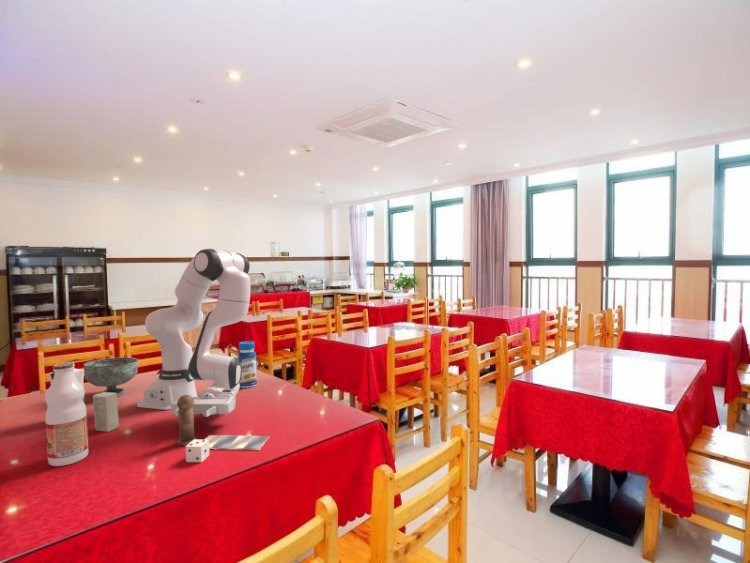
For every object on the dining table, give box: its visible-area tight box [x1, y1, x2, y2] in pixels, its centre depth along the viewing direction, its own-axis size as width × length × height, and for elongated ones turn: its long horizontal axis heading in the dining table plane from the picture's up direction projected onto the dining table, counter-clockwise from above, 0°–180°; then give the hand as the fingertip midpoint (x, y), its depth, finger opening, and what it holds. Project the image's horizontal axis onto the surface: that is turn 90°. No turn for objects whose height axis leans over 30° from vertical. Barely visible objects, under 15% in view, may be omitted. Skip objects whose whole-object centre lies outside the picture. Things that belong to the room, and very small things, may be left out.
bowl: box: [83, 356, 140, 397], centre depth 174 cm, size 20×19×15 cm
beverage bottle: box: [237, 340, 258, 389], centre depth 183 cm, size 8×8×20 cm
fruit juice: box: [44, 361, 90, 467], centre depth 116 cm, size 9×9×28 cm
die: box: [185, 438, 210, 463], centre depth 115 cm, size 5×5×5 cm
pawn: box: [177, 395, 197, 447], centre depth 125 cm, size 5×5×15 cm
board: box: [203, 434, 270, 451], centre depth 124 cm, size 20×9×1 cm, turn 85°
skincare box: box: [92, 391, 120, 432], centre depth 137 cm, size 6×4×12 cm
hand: (190, 414), depth 128 cm, fingers open, 8 cm apart
